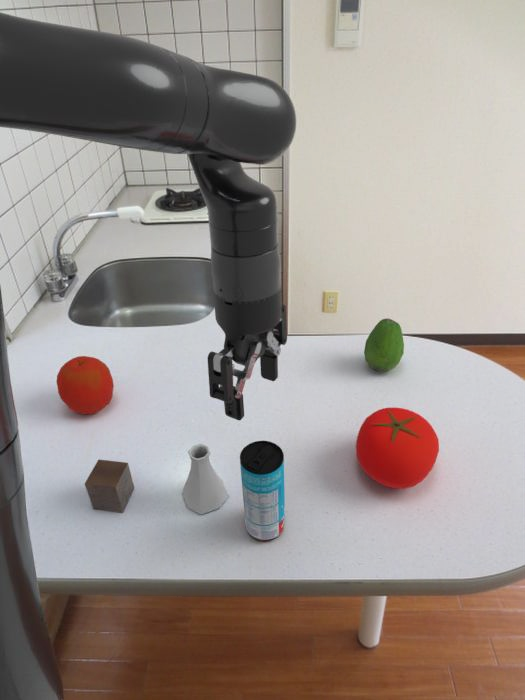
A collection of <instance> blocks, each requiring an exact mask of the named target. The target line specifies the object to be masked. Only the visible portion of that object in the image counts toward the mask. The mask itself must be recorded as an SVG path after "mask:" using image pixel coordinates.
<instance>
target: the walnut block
mask: <svg viewBox="0 0 525 700" xmlns="http://www.w3.org/2000/svg"><path fill="white" fill-rule="evenodd" d="M84 485H85V489H86V492H87V495H88V498H89V501H90V504H91V507H92V509H93V510H98V511H105V512H112V513H121V514H123V513H124V511H125V509H126V507H127V505H128V504H129V501H130V499H131V497H132V495H133V492H134V491H135V485H134V481H133V477H132V473H131V468H130V465H129V462H124V461H118V460H117V461H116V460H108V459H97V461H96V463H95V464H94V467H93V468H92V470H91V471H90V473H89V474H88V476H87V478H86V480H85V482H84Z"/></svg>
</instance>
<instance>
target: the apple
mask: <svg viewBox="0 0 525 700" xmlns="http://www.w3.org/2000/svg"><path fill="white" fill-rule="evenodd" d="M56 387H57V392H58V396H59V398H60V400H61V401H62V402H63V403H64V404H65V405H66V407H67V408H68V409H69V410H70V411H72V412H73V413H75V414H83V415H94V414H95V413H98V412H100V411H101V410H102V409H104V408H106V407H107V406H108V405H109V404H110V403H111V401H112V398H113V395H114V394H113V393H114V378H113V376H112V373H111V370H110V368H109V366H108V365H106V363H105V362H103V361H102V360H100V358H99V359H98V358H96V357H93V356H87V355H86V356H85V355H79V356H75V357H72V358H71V359H70V360H68V361H66V362H65V363H64V364H63V365H62V366H61V367H60V369H59V371H58V373H57V375H56Z"/></svg>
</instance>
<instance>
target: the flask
mask: <svg viewBox="0 0 525 700" xmlns="http://www.w3.org/2000/svg"><path fill="white" fill-rule="evenodd" d="M187 454H188V456H189V458H190V461H191V462H190V469H189V473H188V476H187V478H186V481H185V484H184V486H183V489H182V492H181V496H182V498H183V501H184V505H185V507H186V509H187V508H188V509H189V510H191V511H193V512H195V513H196V514H199V515H203V514H206V513H210V512H213V511H216V510H219V509H220V507H222V505H223V504H224V503H225V501H226V500H227V499H228V498H229V497H230V495H229V493H228V490H227V487H226V486H225V483H224V481H223V480H222V479H221V477H220V475H218V473H217V472H216V470H215V469H214V468H213V466H212V464H211V462H210V456H211V451H210V448H209V446H207V445H205V444H203V443H199V444H195V445H192V447H190V448H189V449H188V451H187Z"/></svg>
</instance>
